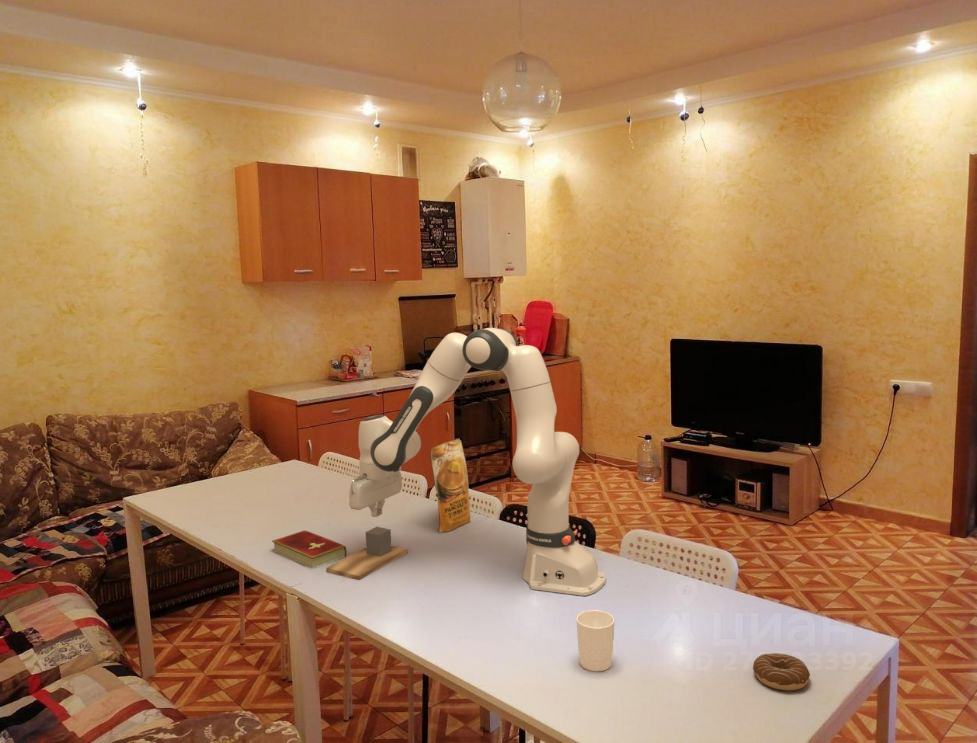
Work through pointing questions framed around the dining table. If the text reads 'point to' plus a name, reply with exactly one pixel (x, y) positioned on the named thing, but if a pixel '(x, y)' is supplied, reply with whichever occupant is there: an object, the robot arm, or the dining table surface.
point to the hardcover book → (309, 548)
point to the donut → (781, 671)
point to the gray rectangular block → (378, 541)
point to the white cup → (595, 639)
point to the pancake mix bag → (451, 485)
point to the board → (364, 563)
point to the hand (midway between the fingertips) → (376, 515)
